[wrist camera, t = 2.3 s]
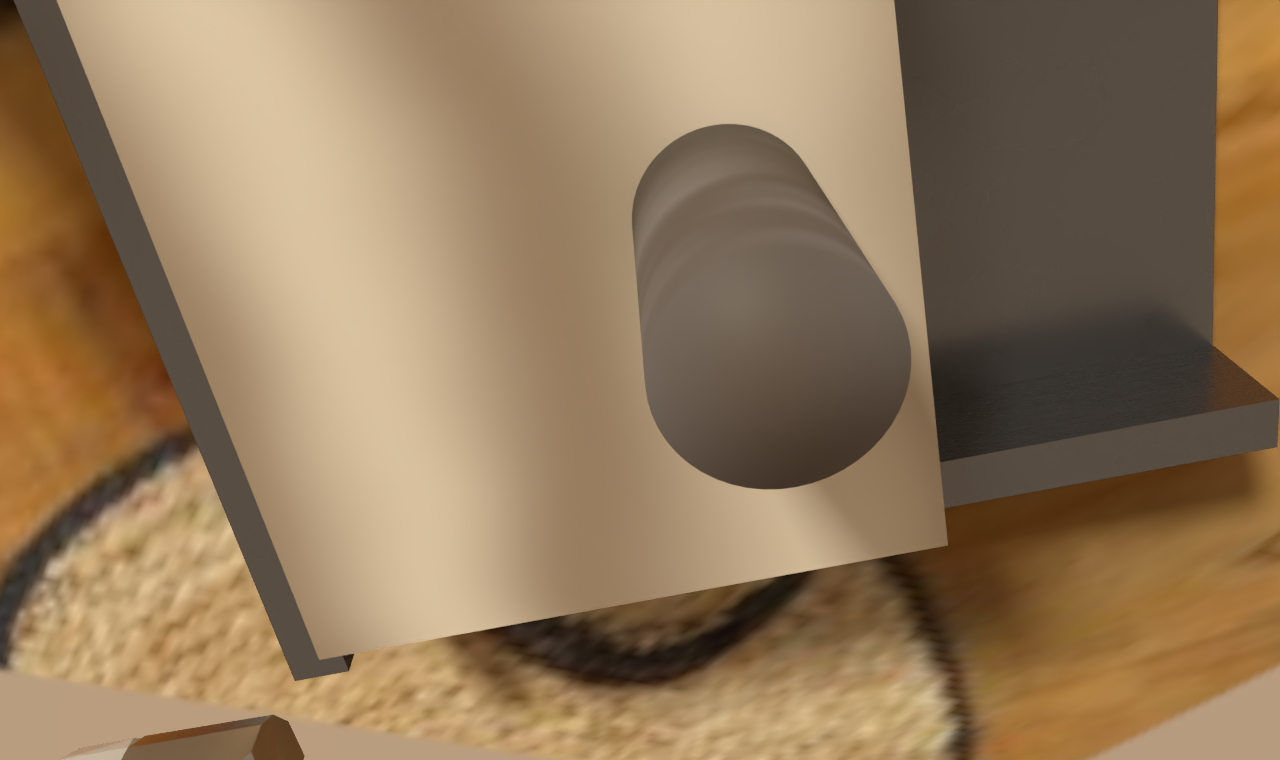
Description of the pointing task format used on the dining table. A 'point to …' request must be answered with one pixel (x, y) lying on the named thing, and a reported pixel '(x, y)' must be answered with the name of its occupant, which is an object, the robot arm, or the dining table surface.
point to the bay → (935, 254)
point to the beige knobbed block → (538, 290)
